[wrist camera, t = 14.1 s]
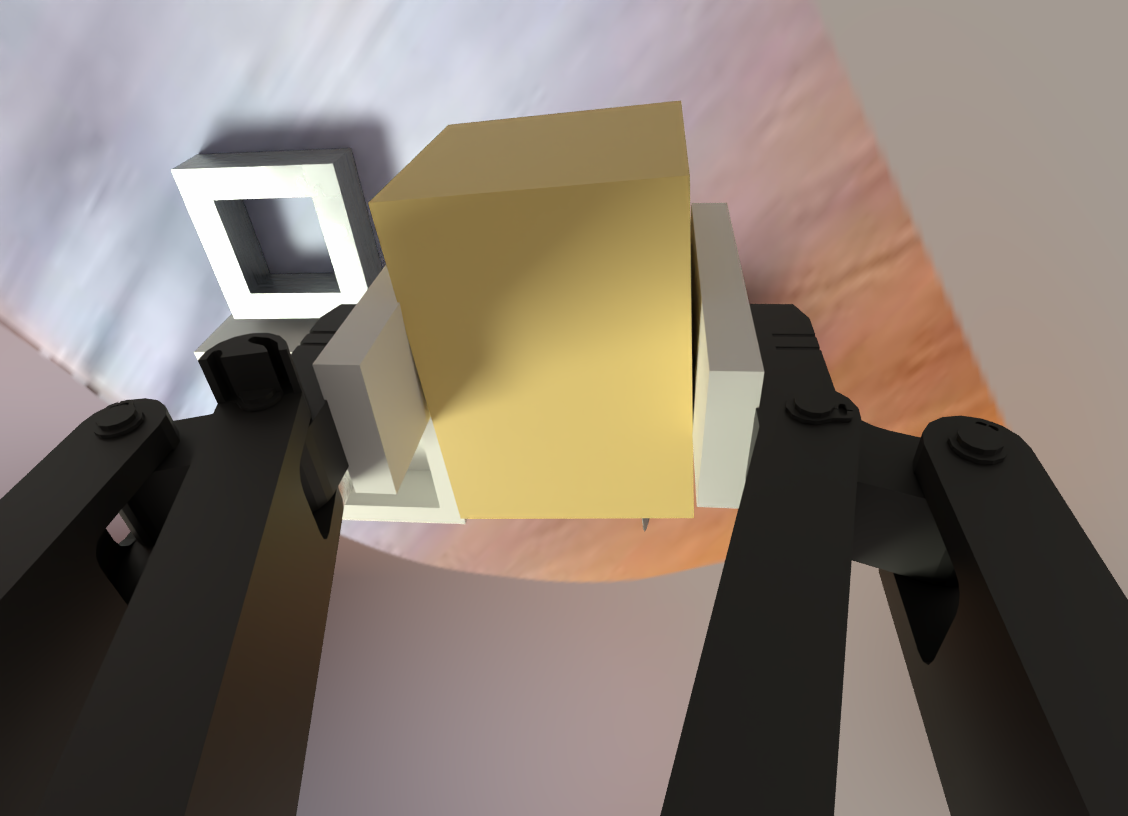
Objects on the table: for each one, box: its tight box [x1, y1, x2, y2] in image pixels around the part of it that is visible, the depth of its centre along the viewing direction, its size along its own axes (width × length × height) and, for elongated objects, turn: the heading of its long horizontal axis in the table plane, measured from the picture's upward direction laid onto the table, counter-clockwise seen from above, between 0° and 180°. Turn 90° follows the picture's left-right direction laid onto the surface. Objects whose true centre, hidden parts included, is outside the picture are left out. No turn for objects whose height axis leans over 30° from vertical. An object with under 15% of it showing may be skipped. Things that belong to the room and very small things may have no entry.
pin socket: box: [171, 148, 382, 319], centre depth 30 cm, size 7×7×2 cm
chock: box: [368, 101, 694, 519], centre depth 14 cm, size 7×5×5 cm
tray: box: [194, 314, 467, 524], centre depth 35 cm, size 11×11×4 cm
